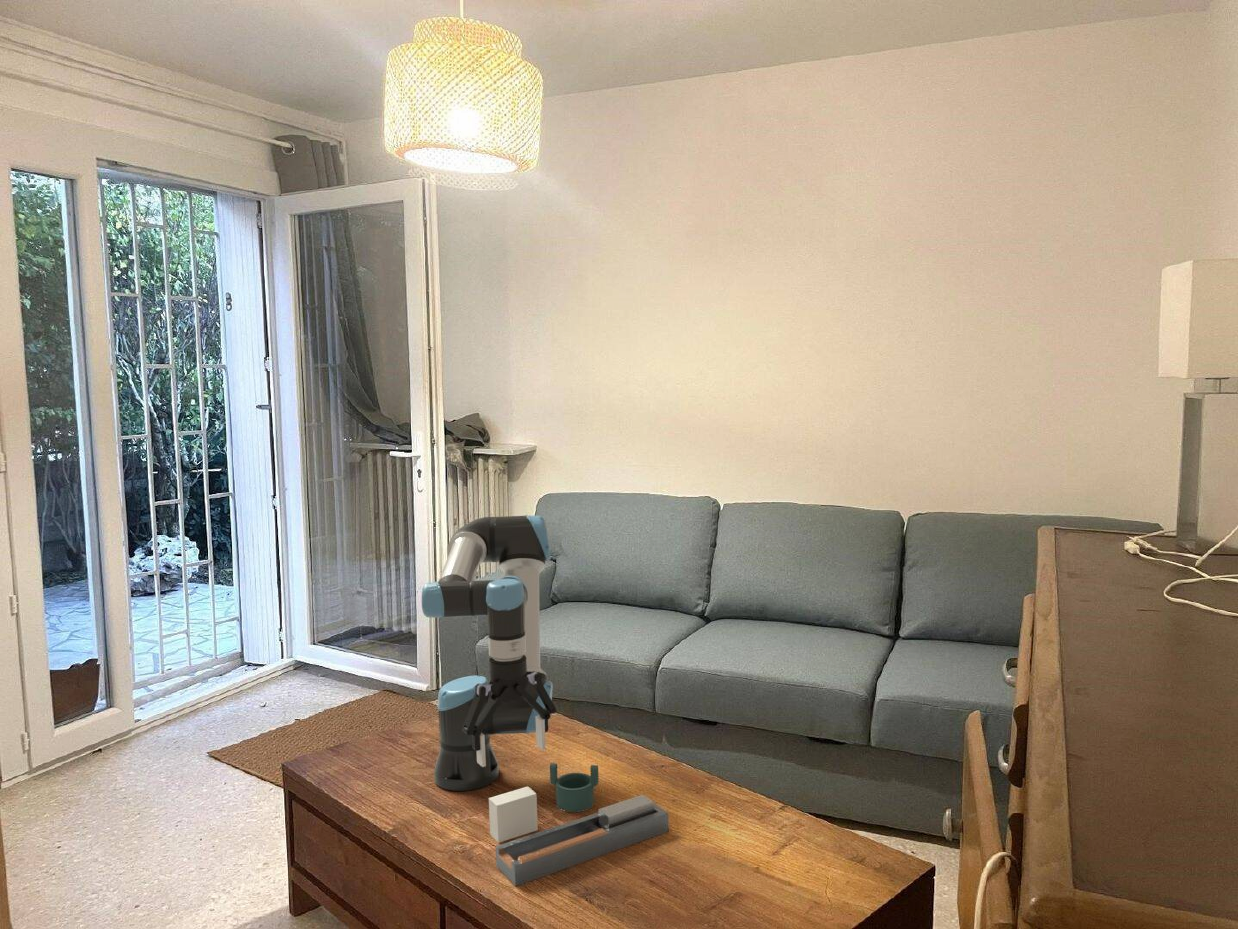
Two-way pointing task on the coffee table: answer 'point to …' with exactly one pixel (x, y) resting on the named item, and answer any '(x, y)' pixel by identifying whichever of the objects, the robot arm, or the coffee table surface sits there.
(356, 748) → the coffee table surface
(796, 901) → the coffee table surface
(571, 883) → the coffee table surface
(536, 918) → the coffee table surface
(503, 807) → the block
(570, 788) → the teal cylindrical holder
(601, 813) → the rack
